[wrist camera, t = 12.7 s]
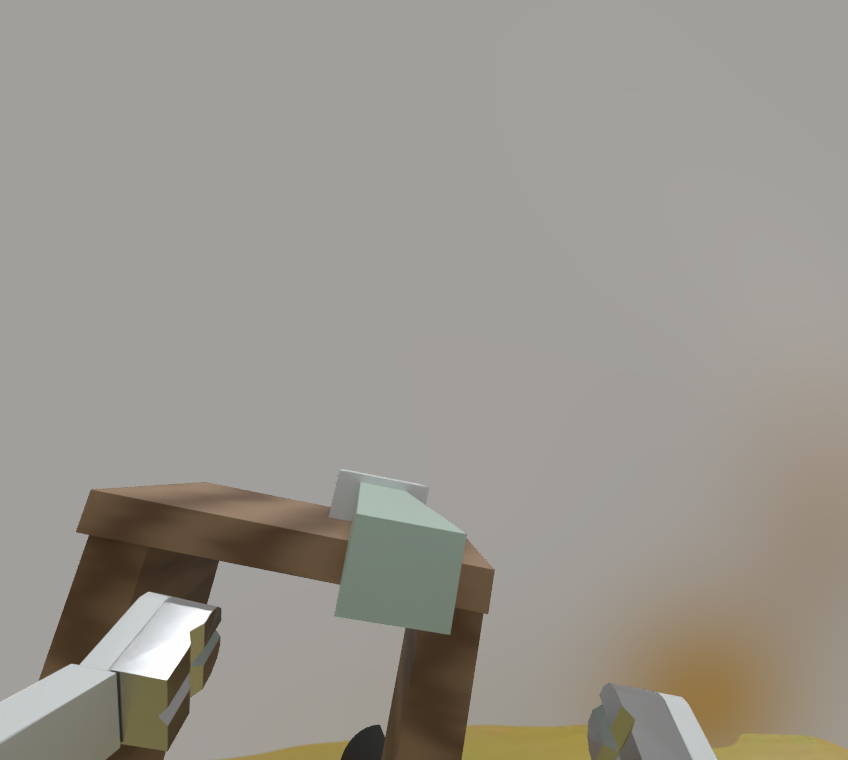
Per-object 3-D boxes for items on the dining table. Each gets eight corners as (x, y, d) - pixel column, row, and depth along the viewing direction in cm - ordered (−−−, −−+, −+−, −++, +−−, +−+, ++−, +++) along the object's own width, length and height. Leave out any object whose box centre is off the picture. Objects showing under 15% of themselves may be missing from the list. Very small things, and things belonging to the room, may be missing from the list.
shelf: (-171, 1230, 15) (91, 489, 21) (81, 896, 27) (205, 482, 32) (380, 1338, 15) (494, 569, 21) (391, 957, 27) (462, 533, 32)
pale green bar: (273, 606, 10) (304, 483, 11) (335, 505, 34) (344, 468, 34) (505, 643, 11) (522, 525, 12) (408, 519, 34) (416, 482, 35)
